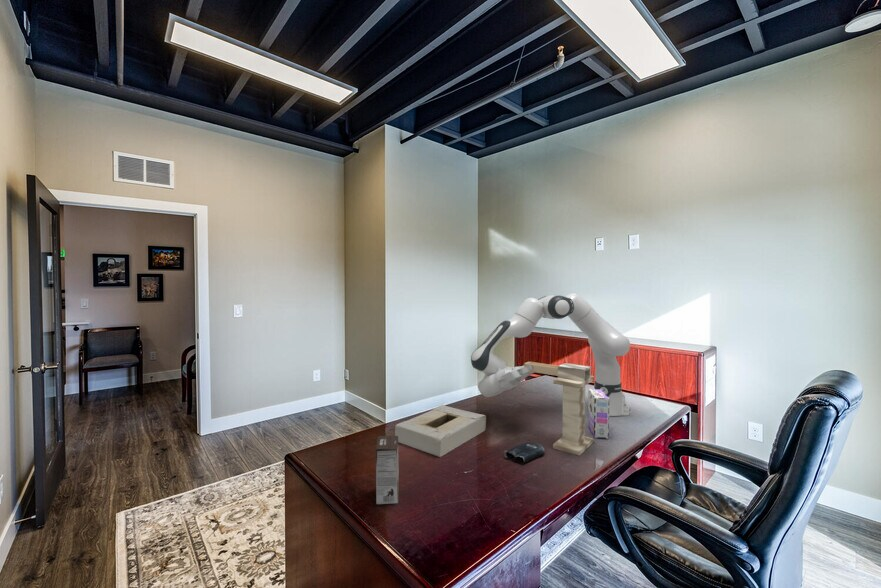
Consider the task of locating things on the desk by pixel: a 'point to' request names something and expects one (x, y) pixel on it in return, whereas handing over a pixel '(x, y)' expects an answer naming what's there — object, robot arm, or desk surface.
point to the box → (440, 429)
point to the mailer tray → (543, 368)
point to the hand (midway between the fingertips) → (535, 365)
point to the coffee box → (387, 470)
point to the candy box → (598, 413)
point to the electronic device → (525, 451)
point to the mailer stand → (573, 407)
